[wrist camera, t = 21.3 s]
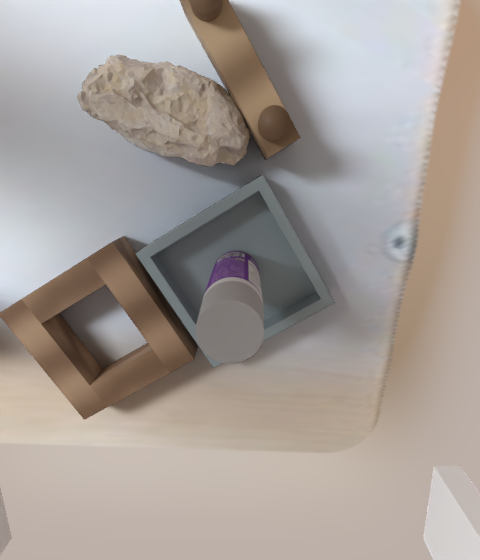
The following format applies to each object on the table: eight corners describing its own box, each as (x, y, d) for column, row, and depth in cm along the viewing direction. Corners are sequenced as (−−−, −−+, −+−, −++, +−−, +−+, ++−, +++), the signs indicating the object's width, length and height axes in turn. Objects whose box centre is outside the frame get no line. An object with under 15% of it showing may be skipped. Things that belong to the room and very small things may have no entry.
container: (206, 283, 39) (182, 348, 24) (224, 242, 38) (210, 286, 23) (247, 300, 39) (247, 375, 25) (266, 261, 38) (278, 315, 24)
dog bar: (185, 16, 33) (170, -25, 26) (214, -5, 32) (206, -52, 26) (265, 159, 36) (270, 156, 29) (293, 142, 36) (304, 135, 29)
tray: (143, 247, 39) (135, 253, 36) (261, 174, 36) (263, 174, 34) (215, 354, 42) (213, 367, 39) (328, 293, 40) (334, 302, 37)
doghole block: (18, 302, 40) (-2, 313, 37) (124, 235, 38) (112, 241, 35) (96, 400, 43) (84, 419, 40) (198, 344, 41) (194, 359, 38)
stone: (165, 69, 37) (81, 18, 29) (271, 100, 32) (208, 50, 24) (145, 146, 40) (60, 120, 31) (241, 186, 35) (173, 169, 26)
